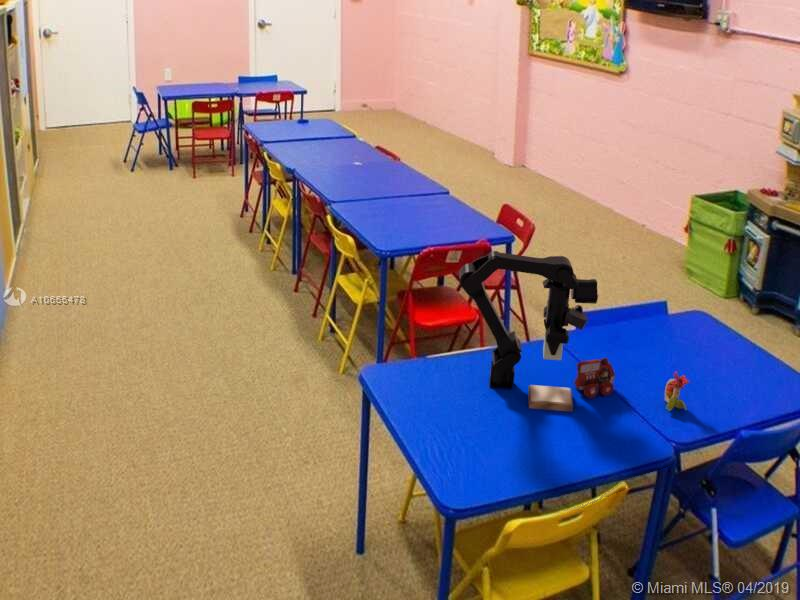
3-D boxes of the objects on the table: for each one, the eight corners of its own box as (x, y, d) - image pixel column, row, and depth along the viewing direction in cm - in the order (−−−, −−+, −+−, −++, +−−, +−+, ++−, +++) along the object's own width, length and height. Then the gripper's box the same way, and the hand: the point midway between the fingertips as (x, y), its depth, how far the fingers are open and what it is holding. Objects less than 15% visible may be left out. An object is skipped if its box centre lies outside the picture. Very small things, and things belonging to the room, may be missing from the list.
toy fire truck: (618, 393, 244) (623, 362, 240) (581, 400, 240) (585, 368, 236) (605, 382, 250) (610, 351, 246) (568, 388, 246) (572, 357, 242)
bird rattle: (655, 408, 241) (669, 413, 232) (654, 369, 241) (669, 373, 232) (676, 407, 242) (691, 412, 233) (675, 368, 242) (690, 372, 233)
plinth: (528, 408, 236) (529, 400, 235) (528, 391, 244) (529, 384, 243) (572, 411, 235) (573, 404, 234) (570, 394, 243) (571, 387, 242)
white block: (543, 358, 241) (545, 339, 239) (542, 350, 246) (545, 331, 243) (561, 360, 241) (563, 340, 238) (560, 351, 245) (562, 332, 243)
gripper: (590, 318, 227) (583, 368, 233) (584, 289, 244) (578, 337, 250) (548, 315, 228) (543, 365, 234) (545, 287, 245) (540, 335, 251)
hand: (552, 350), depth 243 cm, fingers closed on white block, 5 cm apart
